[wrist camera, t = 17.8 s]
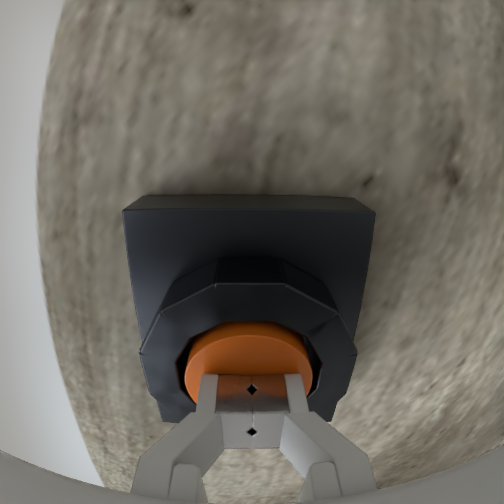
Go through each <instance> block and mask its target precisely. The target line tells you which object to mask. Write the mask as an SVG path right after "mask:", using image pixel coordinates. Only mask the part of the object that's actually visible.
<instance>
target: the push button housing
mask: <svg viewBox="0 0 504 504" xmlns="http://www.w3.org/2000/svg"><path fill="white" fill-rule="evenodd" d="M122 214H123V224H124V233H125V241H126V250H127V257H128V264H129V271H130V278H131V284H132V291H133V296H134V302H135V308H136V313H137V318H138V324H139V329H140V334H141V338H142V345H141V348H140V353H139V355H140V359H141V363H142V367H143V371H144V375H145V379H146V382H147V386H148V390H149V392H150V394H151V395H152V396H153V397H154V398H155V399H156V400H157V404H158V407H159V411H160V414H161V418H162V421H163V422H171V423H179V422H180V421H182V420H183V419H184V418H185V417H186V416H187V415H188V414H189V413H190V412H196V406H197V404H196V403H195V402H194V400H193V399H192V398H191V396H190V395H189V393H188V391H187V388H186V384H185V371H186V366H187V361H188V357H189V352H190V348H191V343H192V339H193V337H194V336H196V335H198V334H200V333H202V332H205V331H207V330H209V329H211V328H213V327H216V326H218V325H220V324H222V323H224V322H226V321H274V322H276V323H278V324H280V325H282V326H284V327H286V328H288V329H290V330H292V331H295V332H297V333H299V334H301V335H303V338H304V342H305V345H306V349H307V353H308V357H309V361H310V365H311V369H312V375H313V379H312V385H311V388H310V391H309V393H308V395H307V396H306V399H307V403H308V408H309V412H313V411H314V412H315V413H317V414H318V415H319V416H320V417H321V418H322V419H324V420H325V421H326V422H331V421H332V418H333V415H334V411H335V408H336V405H337V402H338V401H339V400H340V399H341V398H342V397H343V396H344V395H345V394H346V393H347V392H346V391H347V389H348V386H349V382H350V379H351V376H352V372H353V368H354V365H355V361H356V357H357V349H356V346H355V344H354V342H353V340H354V336H355V331H356V327H357V322H358V318H359V313H360V308H361V303H362V298H363V293H364V287H365V282H366V276H367V270H368V264H369V258H370V251H371V245H372V238H373V230H374V223H375V215H376V213H375V212H374V211H373V210H371V209H370V208H368V207H367V206H365V205H364V204H362V203H361V202H359V201H358V200H356V199H355V198H345V197H324V196H296V195H240V194H211V195H156V196H142V197H141V198H139V199H138V200H136V201H135V202H133V203H132V204H130V205H129V206H128V207H126V208H125V209H123V211H122Z"/></svg>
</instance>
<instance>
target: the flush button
mask: <svg viewBox="0 0 504 504" xmlns="http://www.w3.org/2000/svg"><path fill="white" fill-rule="evenodd" d="M203 373H204V374H230V375H275V374H283V375H284V374H295V373H300V374H301V375H302V380H303V385H304V389H305V394H306V396H307V395H308V393H309V391H310V388H311V385H312V379H313V375H312V369H311V365H310V361H309V357H308V353H307V349H306V345H305V342H304V338H303V335H301V334H299V333H297V332H295V331H292V330H290V329H288V328H286V327H284V326H282V325H280V324H278V323H276V322H274V321H226V322H224V323H222V324H220V325H218V326H216V327H213V328H211V329H209V330H207V331H205V332H202V333H200V334H198V335H196V336H194V337H193V339H192V343H191V348H190V352H189V357H188V361H187V366H186V371H185V384H186V388H187V391H188V393H189V395H190V396H191V398H192V399H193V400H194V402H195V403H196V404H197V400H198V393H199V387H200V380H201V376H202V374H203Z"/></svg>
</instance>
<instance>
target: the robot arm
mask: <svg viewBox="0 0 504 504" xmlns="http://www.w3.org/2000/svg"><path fill="white" fill-rule="evenodd" d="M247 448H280V449H279V450H280V451H281V452H282V453H283V454H284V456H285V457H286V458H287V459H288V460H289V462H290V463H291V464H292V465H293V466H294V467H295V469H296V470H297V471H298V472H299V473H300V474H301V475H302V477H303V478H304V479H305V481H304V484H303V487H302V490H301V492H300V495H299V498H298V500H297V502H294V503H279V504H504V444H503V445H501V446H499V447H497V448H495V449H493V450H491V451H489V452H486V453H484V454H482V455H480V456H478V457H475V458H473V459H471V460H468V461H466V462H464V463H461V464H459V465H456V466H454V467H451V468H448V469H446V470H443V471H440V472H437V473H434V474H431V475H428V476H425V477H422V478H419V479H416V480H412V481H409V482H406V483H402V484H398V485H394V486H391V487H387V488H382V489H378V488H377V484H376V481H375V478H374V474H373V471H372V468H371V465H370V462H369V458H368V455H367V454H366V453H365V452H363V451H362V450H361V449H359V448H358V447H357V446H356V445H354V444H353V443H352V442H351V441H349V440H348V439H347V438H346V437H344V436H343V435H342V434H341V433H339V432H338V431H337V430H336V429H335V428H333V427H332V426H331V425H330V424H328V423H327V422H326V421H325V420H324V419H322V418H321V417H320V416H319V415H318V414H317V413H315V412H314V411H313V412H309V408H308V403H307V399H306V394H305V389H304V385H303V380H302V375H301V374H300V373H295V374H284V375H283V374H275V375H230V374H204V373H203V374H202V376H201V380H200V387H199V393H198V400H197V406H196V412H190V413H189V414H188V415H187V416H186V417H185V418H184V419H183V420H182V421H180V422H179V423H178V424H177V425H176V426H175V427H174V428H172V429H171V430H170V431H169V432H168V433H167V434H166V435H165V436H163V437H162V438H161V439H160V440H159V441H158V442H156V443H155V444H154V445H153V446H152V447H151V448H149V449H148V450H147V451H146V452H145V453H143V454H142V455H141V456H140V457H139V461H138V465H137V469H136V473H135V477H134V481H133V485H132V489H131V493H127V492H122V491H118V490H113V489H109V488H105V487H101V486H97V485H93V484H89V483H86V482H82V481H79V480H76V479H72V478H69V477H66V476H63V475H60V474H57V473H54V472H52V471H49V470H46V469H43V468H41V467H38V466H36V465H33V464H30V463H28V462H26V461H23V460H21V459H19V458H16V457H14V456H12V455H10V454H7V453H5V452H3V451H1V450H0V504H212V503H208V500H207V496H206V492H205V488H204V484H203V480H202V477H203V476H204V475H205V473H206V472H207V471H208V470H209V468H210V467H211V466H212V465H213V463H214V462H215V461H216V460H217V458H218V457H219V456H220V455H221V453H222V452H223V451H224V449H247Z"/></svg>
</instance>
